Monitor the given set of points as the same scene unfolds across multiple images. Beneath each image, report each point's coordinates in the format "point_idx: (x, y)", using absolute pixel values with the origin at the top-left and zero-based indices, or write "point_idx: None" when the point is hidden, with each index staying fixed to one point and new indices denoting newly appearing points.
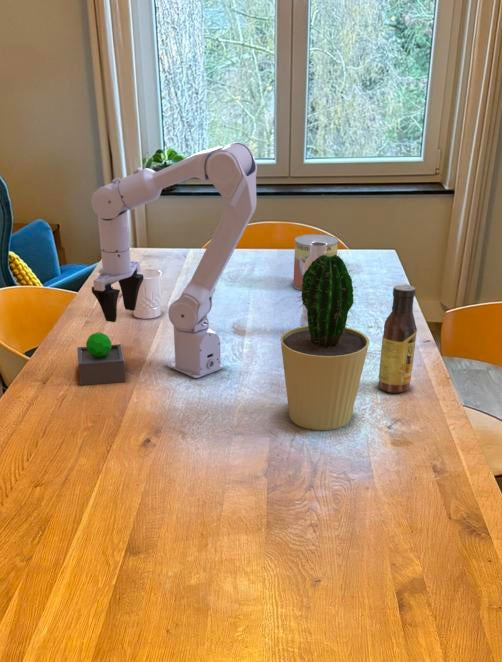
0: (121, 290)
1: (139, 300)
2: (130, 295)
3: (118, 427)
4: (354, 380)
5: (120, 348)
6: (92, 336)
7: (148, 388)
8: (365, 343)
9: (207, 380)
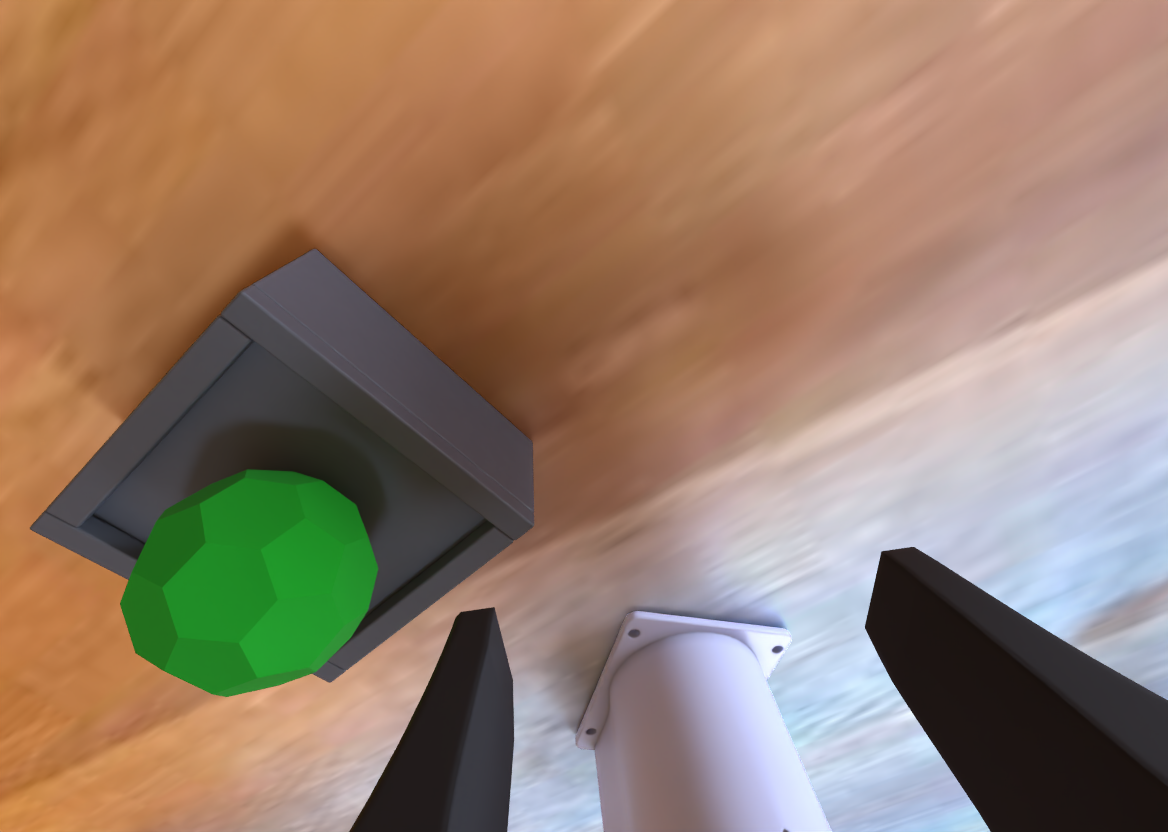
0: (1113, 746)
1: None
2: (1007, 775)
3: (41, 776)
4: None
5: (467, 568)
6: (155, 635)
7: (387, 673)
8: None
9: (590, 758)
